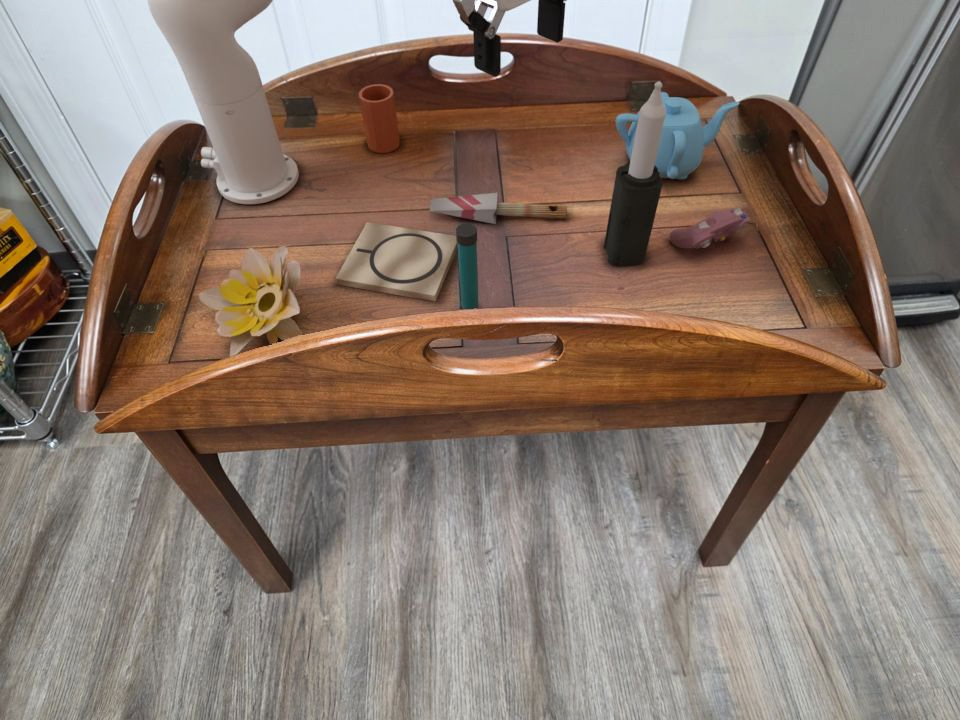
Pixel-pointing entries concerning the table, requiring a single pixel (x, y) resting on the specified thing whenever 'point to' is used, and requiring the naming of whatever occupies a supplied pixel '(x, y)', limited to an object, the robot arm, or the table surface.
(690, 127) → the teapot
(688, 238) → the purple toy car
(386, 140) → the pen cup
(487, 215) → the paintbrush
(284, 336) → the decorative flower
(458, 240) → the marker
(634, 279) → the table surface
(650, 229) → the candle
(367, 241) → the sketch board
